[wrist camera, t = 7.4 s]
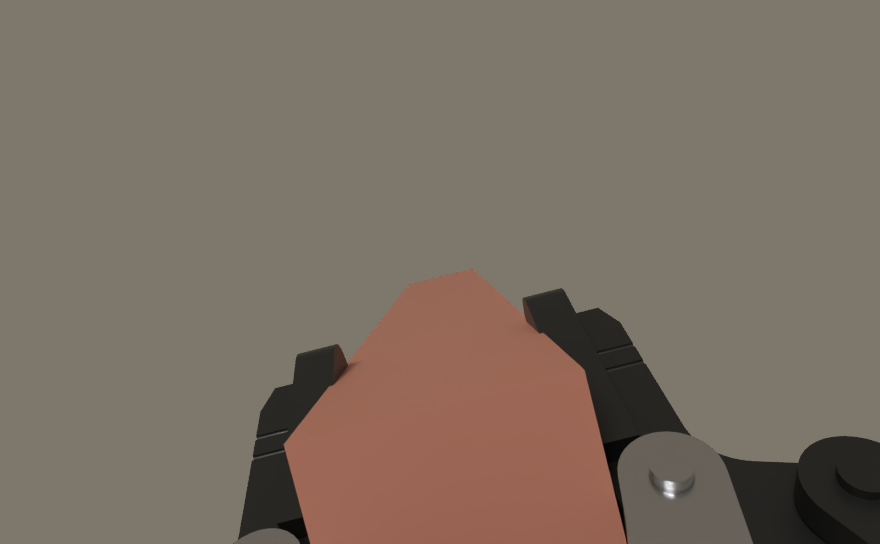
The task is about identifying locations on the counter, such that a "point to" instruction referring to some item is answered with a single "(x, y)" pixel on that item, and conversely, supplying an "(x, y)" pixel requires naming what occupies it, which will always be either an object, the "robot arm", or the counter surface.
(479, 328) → the bar
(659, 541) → the robot arm
